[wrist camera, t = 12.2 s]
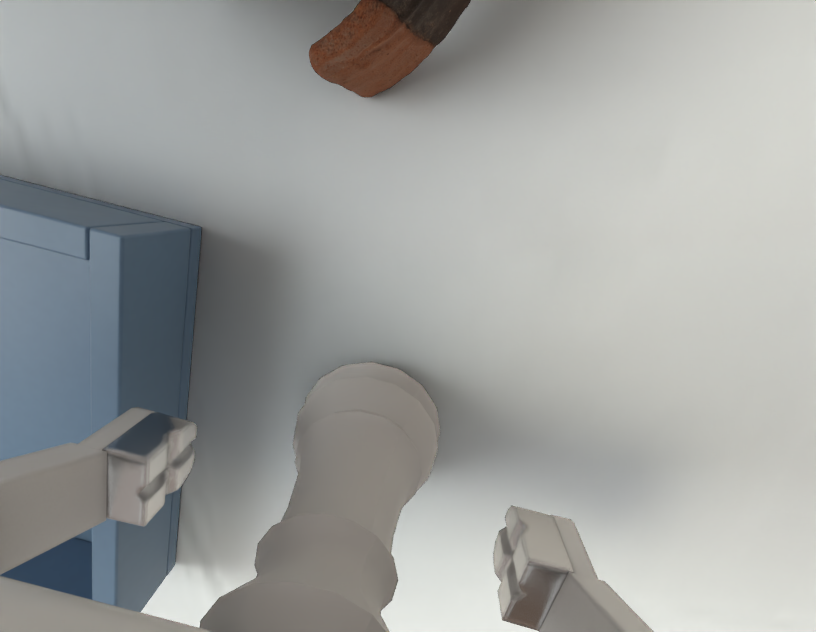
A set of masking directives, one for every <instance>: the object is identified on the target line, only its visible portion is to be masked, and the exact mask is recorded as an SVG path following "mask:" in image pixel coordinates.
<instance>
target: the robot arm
mask: <svg viewBox="0 0 816 632" xmlns="http://www.w3.org/2000/svg"><path fill="white" fill-rule="evenodd" d="M196 437H197V425H196V424H195V423H194V422H190V421H187V420H184V419H180V418H177V417H173V416H170V415H166V414H163V413H159V412H154V411H151V410H147V409H144V408H140V407H135V408H131V409H129V410H128V411H126V412H125V413H123V414H122V415H120V416H119V417H117V418H116V419H114V420H113V421H111V422H110V423H108V424H107V425H105V426H104V427H102V428H101V429H99V430H98V431H96V432H95V433H93V434H92V435H90V436H89V437H87V438H86V439H84V440H83V441H81V442H80V443H78V444H76V443H67V444H63V445H59V446H55V447H52V448H48V449H44V450H40V451H36V452H32V453H29V454H25V455H21V456H17V457H13V458H9V459H5V460H2V461H0V575H1V574H3V573H5V572H7V571H9V570H11V569H13V568H15V567H17V566H19V565H20V564H22V563H24V562H26V561H28V560H30V559H32V558H34V557H36V556H38V555H40V554H42V553H44V552H46V551H48V550H50V549H52V548H54V547H56V546H57V545H59V544H61V543H63V542H65V541H67V540H69V539H71V538H73V537H75V536H77V535H79V534H81V533H83V532H85V531H87V530H89V529H91V528H93V527H95V526H96V525H98V524H100V523H102V522H104V521H106V518H108V519H112V520H117V521H121V522H126V523H130V524H134V525H139V526H143V527H144V526H145V525H146V524H147V523H148V522H149V521H150V520H151V519H152V518H153V517H154V515H155V514H156V513H157V512H158V511H159V510H160V509H161V508H162V507H163V506H164V504H165V495H167V494H170V493H172V492H174V491H177V490H178V489H179V488H180V487H181V485H182V484H183V483H184V482H185V481H186V479H187V477H188V475H189V473H190V472H191V470H192V467H193V463H194V460H195V450H194V449H193V447H192V445H191V442H192V441H193V440H194V439H195V438H196ZM505 521H506V527H505V528H503V529H501V530H500V531H499V533H498V535H497V538H496V541H495V547H494V553H493V560H494V570H495V574H496V575H497V577H498V578H499V579H500V581H501V584H500V586H499V589H498V597H499V603H500V610H501V616H502V620H503V621H507V622H510V623H513V624H517V625H520V626H524V627H527V628H531V629H534V630H537V631H539V632H654V631H653V630H652V629H651V628H650V627H649V626H648V625H647V624H646V623H645V622H644V621H643V620H642V619H641V618H640V617H639V616H638V615H637V614H636V613H635V612H634V611H633V610H632V609H631V608H630V607H629V606H628V605H627V604H626V603H625V602H624V601H623V600H622V599H621V598H620V597H619V596H618V595H617V593H616V592H615V591H614V590H613V589H612V588H611V587H610V586H609V585H608V584H607V583H606V582H605V581H601V580H598V578H597V575H596V573H595V571H594V568H593V566H592V564H591V561H590V559H589V556H588V554H587V552H586V549H585V547H584V545H583V542H582V540H581V538H580V535H579V533H578V531H577V528H576V526H575V524H574V522H573V521H572V520H571V519H567V518H563V517H559V516H554V515H548V514H544V513H540V512H536V511H532V510H528V509H524V508H520V507H516V506H512V505H511V507H510V508H509V509H508V511H507V513H506V515H505ZM0 632H213V631H209V630H206V629H202V628H198V627H194V626H190V625H187V624H183V623H179V622H175V621H171V620H167V619H164V618H160V617H156V616H152V615H148V614H144V613H141V612H137V611H133V610H129V609H125V608H121V607H118V606H114V605H110V604H106V603H102V602H99V601H95V600H91V599H87V598H83V597H79V596H76V595H72V594H68V593H64V592H60V591H56V590H53V589H49V588H45V587H41V586H37V585H33V584H30V583H26V582H22V581H18V580H14V579H11V578H7V577H3V576H0Z"/></svg>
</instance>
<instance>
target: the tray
mask: <svg viewBox="0 0 816 632" xmlns="http://www.w3.org/2000/svg"><path fill="white" fill-rule="evenodd" d="M201 230H202V228H201V227H199V226H195V225H192V224H188V223H184V222H180V221H176V220H172V219H168V218H165V217H161V216H157V215H153V214H149V213H145V212H141V211H138V210H134V209H130V208H126V207H122V206H118V205H114V204H110V203H107V202H103V201H99V200H95V199H91V198H87V197H83V196H80V195H76V194H72V193H68V192H64V191H60V190H56V189H53V188H49V187H45V186H41V185H37V184H33V183H29V182H25V181H22V180H18V179H14V178H10V177H6V176H2V175H0V461H2V460H5V459H9V458H13V457H17V456H21V455H25V454H29V453H32V452H36V451H40V450H44V449H48V448H52V447H55V446H59V445H63V444H67V443H76V444H78V443H80V442H81V441H83V440H84V439H86V438H87V437H89V436H90V435H92V434H93V433H95V432H96V431H98V430H99V429H101V428H102V427H104V426H105V425H107V424H108V423H110V422H111V421H113V420H114V419H116V418H117V417H119V416H120V415H122V414H123V413H125V412H126V411H128V410H129V409H131V408H135V407H140V408H144V409H147V410H151V411H154V412H159V413H163V414H166V415H170V416H173V417H177V418H180V419H184V420H186V418H187V406H188V393H189V381H190V368H191V356H192V343H193V330H194V318H195V305H196V293H197V280H198V268H199V255H200V242H201ZM180 494H181V487H180V488H179V489H178V490H177V491H174V492H172V493H170V494H167V495H165V504H164V506H163V507H162V508H161V509H160V510H159V511H158V512H157V513H156V514H155V515H154V517H153V518H152V519H151V520H150V521H149V522H148V523H147V524H146V525H145V526H144V527H143V526H139V525H134V524H130V523H126V522H121V521H117V520H112V519H108V518H106V521H104V522H102V523H100V524H98V525H96V526H95V527H93V528H91V529H89V530H87V531H85V532H83V533H81V534H79V535H77V536H75V537H73V538H71V539H69V540H67V541H65V542H63V543H61V544H59V545H57V546H56V547H54V548H52V549H50V550H48V551H46V552H44V553H42V554H40V555H38V556H36V557H34V558H32V559H30V560H28V561H26V562H24V563H22V564H20V565H19V566H17V567H15V568H13V569H11V570H9V571H7V572H5V573H3V574H1V575H0V576H3V577H7V578H11V579H14V580H18V581H22V582H26V583H30V584H33V585H37V586H41V587H45V588H49V589H53V590H56V591H60V592H64V593H68V594H72V595H76V596H79V597H83V598H87V599H91V600H95V601H99V602H102V603H106V604H110V605H114V606H118V607H121V608H125V609H129V610H133V611H137V612H141V610H142V609H143V608H144V606H145V605H146V604H147V602H148V601H149V599H150V598H151V597H152V595H153V594H154V593H155V591H156V590H157V588H158V587H159V586H160V584H161V583H162V582H163V580H164V579H165V577H166V576H167V575H168V574H169V572H170V571H171V570H172V568H173V567H174V565H175V557H176V544H177V532H178V519H179V507H180Z"/></svg>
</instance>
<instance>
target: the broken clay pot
mask: <svg viewBox="0 0 816 632" xmlns="http://www.w3.org/2000/svg"><path fill="white" fill-rule="evenodd" d="M470 1H471V0H361V1H360V2H359V4H358V5H357V6H356V8H355V9H354V11H353V12H352V13H351V14H350V15H348V16H347V17H346V18H344V19H343V21H342V22H341V23H340V24H339V25H338V26H337V27H335V28H334V29H333V30H331V31H330V32H329V33H328V34H327V35H326V36H324V37H323V38H322V39H320V40H319V41H317V42H316V43H314V44H313V45H312V46H311V48H310V50H309V58H310V62H311V65H312V68H313V69H314V70H315V72H316V73H317V74H318V75H320V76H321V77H322V78H324V79H325V80H327V81H329V82H331V83H336V84H339V85H341V86H343V87H344V88H346V89H348V90H350V91H353V92H355V93H356V94H358V95H360V96H362V97H372V96H374V95H376V94H378V93H380V92H382V91H384V90H386V89H388V88H390V87H392V86H393V85H395V84H396V83H397V82H399V81H400V80H401V79H402V78H404V77H405V76H407V75H408V74H410V73H411V72H412V71H413V70H414V69H415V68H416V67H417V66H418V65H419V64H420V63H421V62H422V61H423V60H424V59H425V58H426V57H427V56H428V55H429V54H430V53H431V52H432V50H433V49H434V47H435V46H436V45H438V44H439V43H440V42H441V41H442V40H443V39H444V38H445V37H446V35H447V34H448V33H449V31H450V30H451V29H452V27H453V26H454V24H455V23H456V21H457V20H458V18H459V16H460V15H461V14H462V12H463V11H464V9H465V8H467V6H468V5H469V3H470Z"/></svg>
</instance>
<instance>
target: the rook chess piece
mask: <svg viewBox="0 0 816 632" xmlns="http://www.w3.org/2000/svg"><path fill="white" fill-rule="evenodd" d="M439 435H440V426H439V419H438V412H437V407H436V406H435V404H434V403H433V401H432V400H431V398H430V396H429V395H428V393H427V392H426V390H425V389H424V387H423V386H422V385H421V384H420V383H418V382H417V381H415V380H414V379H413V378H411V377H410V376H408V375H407V374H406V373H404V372H403V371H401V370H400V369H397V368H393V367H389V366H385V365H382V364H378V363H374V362H366V363H357V364H348V365H342V366H341V367H339V368H337V369H335V370H333V371H332V372H330V373H328V374H326V375H324V376H323V377H321V378H320V379H319V380H318V382H317V383H316V384H315V386H314V387H313V388H312V390H311V391H310V393H309V394H308V395H307V397H306V399H305V404H304V406H303V407H302V409H301V410H300V411H299V413H298V417H297V422H296V428H295V434H294V440H293V448H294V452H295V455H296V458H295V465H296V468H297V472H298V476H297V479H296V483H295V486H294V489H293V492H292V495H291V499H290V502H289V505H288V508H287V510H286V512H285V514H284V516H283V518H282V520H281V522H280V523H278V524H276V525H273V526H272V527H271V528H270V529H269V530H268V532H267V533H266V534H265V535H264V537H263V538H262V539H261V540H260V542H259V543H258V546H257V552H256V559H255V568H256V571H257V577H256V578H255V579H253V580H251V581H249V582H247V583H246V584H244V585H242V586H240V587H238V588H236V589H234V590H233V591H231V592H229V593H227V594H225V595H223V596H221V597H220V598H219V599H218V600H217V601H216V602H215V604H214V605H213V606H212V607H211V608H210V610H209V611H208V612H207V613H206V615H205V616H204V617H203V618H202V620H201V621H200V628H202V629H206V630H209V631H213V632H389V630H388V628H387V626H386V624H385V622H384V620H383V619H382V617H381V610H382V609H383V608H384V607H385V606H387V605H388V604H389V603H390V602H391V601H392V598H393V595H394V592H395V589H396V585H397V582H398V577H397V572H396V567H395V563H394V558H393V556H392V555H391V550H392V543H393V535H394V532H395V529H396V526H397V522H398V519H399V516H400V512H401V509H402V508H403V506H404V505H405V504H406V503H407V502H408V501H409V500H410V499H411V498H412V497H413V496H414V495H415V493H416V491H417V490H418V489H419V488H420V487H421V486H422V485H423V484H424V483H425V482H426V481H427V479H428V477H429V475H430V473H431V470H432V467H433V464H434V461H435V458H436V454H437V451H438V445H437V442H438V439H439Z"/></svg>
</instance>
